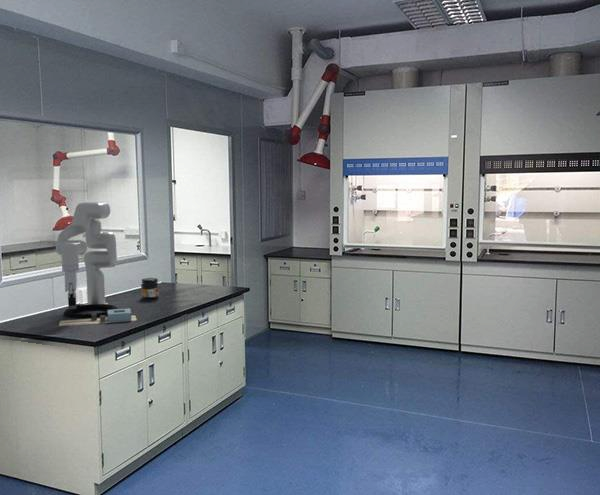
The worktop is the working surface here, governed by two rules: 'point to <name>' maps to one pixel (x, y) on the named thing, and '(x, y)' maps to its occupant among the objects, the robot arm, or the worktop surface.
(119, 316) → the end holder
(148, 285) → the supplement container
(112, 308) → the cable lock
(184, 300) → the worktop surface
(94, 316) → the board
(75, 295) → the connector plug
